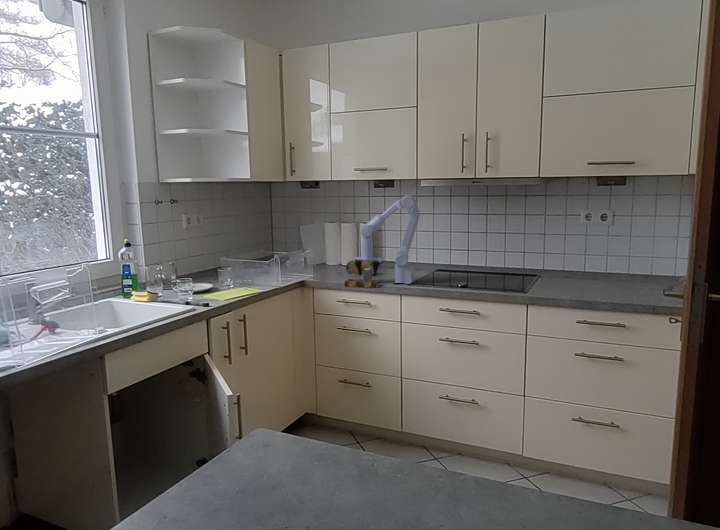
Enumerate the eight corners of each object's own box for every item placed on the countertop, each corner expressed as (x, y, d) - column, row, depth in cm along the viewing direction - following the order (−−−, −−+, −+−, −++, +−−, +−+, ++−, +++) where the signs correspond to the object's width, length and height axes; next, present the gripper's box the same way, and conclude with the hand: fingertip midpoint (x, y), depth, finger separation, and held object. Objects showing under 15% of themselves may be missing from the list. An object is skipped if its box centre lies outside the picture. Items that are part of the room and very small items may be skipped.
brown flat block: (379, 284, 259) (379, 279, 258) (375, 288, 252) (375, 282, 251) (349, 283, 263) (348, 278, 263) (344, 286, 256) (344, 281, 256)
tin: (346, 275, 285) (345, 260, 283) (347, 274, 288) (347, 259, 286) (372, 276, 281) (372, 260, 280) (374, 274, 284) (373, 259, 283)
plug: (372, 282, 265) (372, 268, 264) (370, 283, 262) (370, 269, 260) (365, 282, 266) (365, 267, 265) (363, 283, 263) (363, 269, 261)
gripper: (351, 249, 259) (351, 276, 262) (379, 250, 255) (379, 277, 257) (355, 247, 266) (355, 273, 268) (382, 248, 262) (383, 275, 264)
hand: (367, 275), depth 263 cm, fingers open, 7 cm apart
